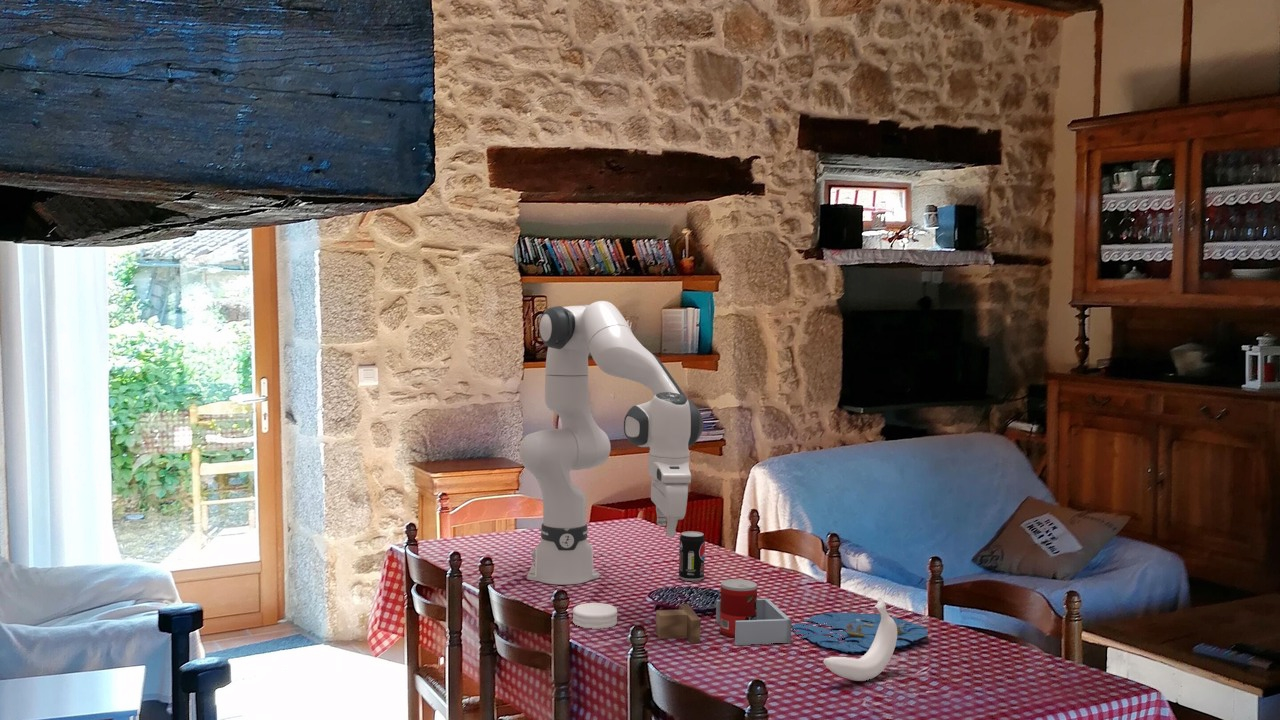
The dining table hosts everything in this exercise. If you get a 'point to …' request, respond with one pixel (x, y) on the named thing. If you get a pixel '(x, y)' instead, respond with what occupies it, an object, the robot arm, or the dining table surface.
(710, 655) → the dining table surface
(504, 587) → the dining table surface
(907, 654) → the dining table surface
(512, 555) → the dining table surface
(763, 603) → the box
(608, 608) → the white round container
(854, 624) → the decorative plate
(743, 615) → the canned food
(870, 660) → the banana
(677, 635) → the t-shaped block
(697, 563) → the beverage can
